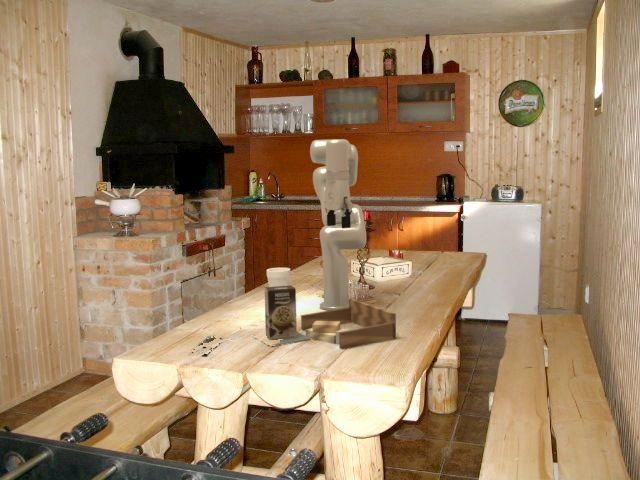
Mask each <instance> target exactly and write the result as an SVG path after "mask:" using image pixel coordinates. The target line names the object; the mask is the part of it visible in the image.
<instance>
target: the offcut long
mask: <svg viewBox="0 0 640 480" xmlns="http://www.w3.org/2000/svg"><path fill="white" fill-rule="evenodd" d="M305 336H307V337H309V338H312V340H316V341H321V342H324V343H329V344H333V345H335V344H336V333H313V328H310V329H306V330H305Z"/></svg>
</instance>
